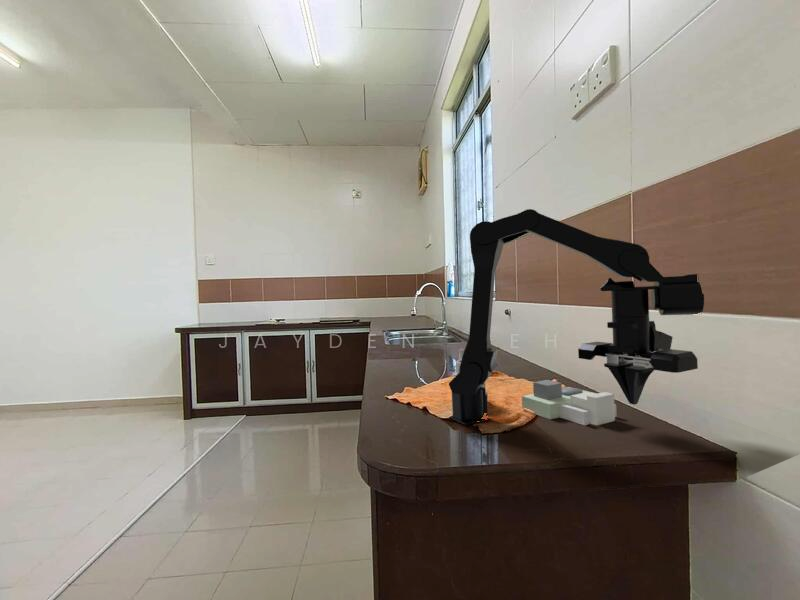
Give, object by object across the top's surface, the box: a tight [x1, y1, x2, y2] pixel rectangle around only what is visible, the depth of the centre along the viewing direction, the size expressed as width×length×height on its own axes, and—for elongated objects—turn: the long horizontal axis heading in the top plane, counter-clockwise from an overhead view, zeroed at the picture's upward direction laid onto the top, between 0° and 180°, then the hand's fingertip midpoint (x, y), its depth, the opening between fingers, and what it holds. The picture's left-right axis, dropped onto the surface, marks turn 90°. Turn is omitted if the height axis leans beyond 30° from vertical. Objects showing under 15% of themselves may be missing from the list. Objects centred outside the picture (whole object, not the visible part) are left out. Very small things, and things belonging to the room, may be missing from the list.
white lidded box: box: [570, 391, 616, 426], centre depth 80 cm, size 5×6×5 cm
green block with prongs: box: [521, 379, 617, 426], centre depth 85 cm, size 14×14×6 cm
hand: (633, 403), depth 72 cm, fingers closed
